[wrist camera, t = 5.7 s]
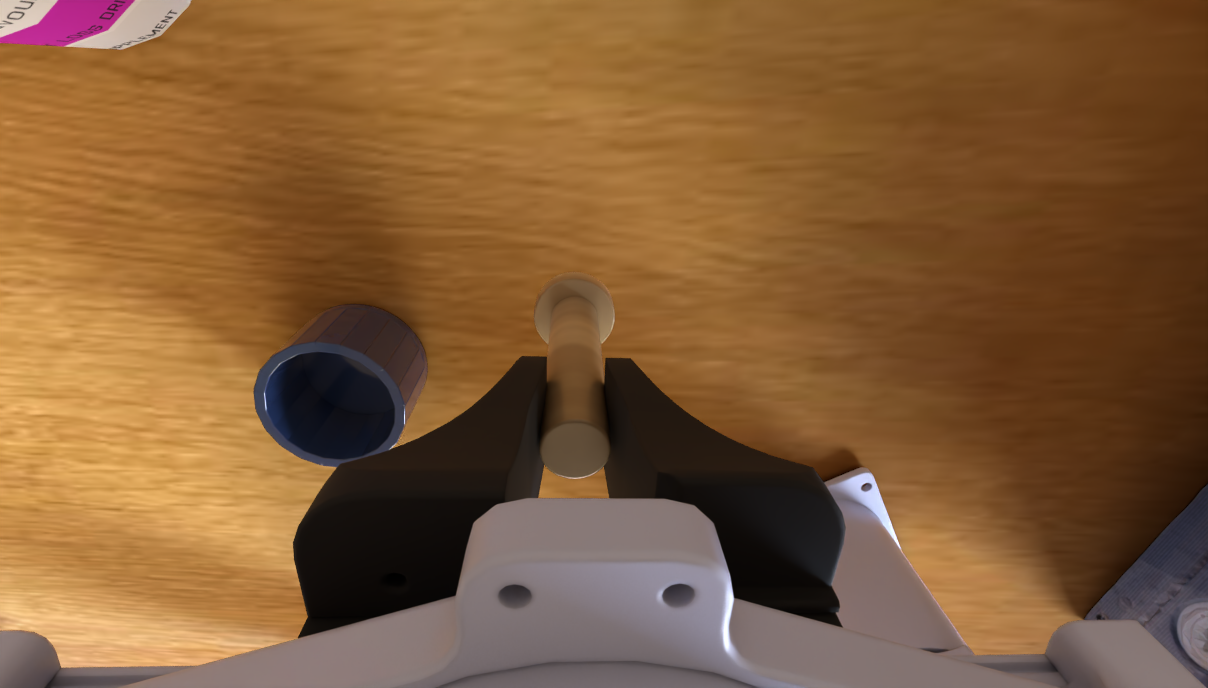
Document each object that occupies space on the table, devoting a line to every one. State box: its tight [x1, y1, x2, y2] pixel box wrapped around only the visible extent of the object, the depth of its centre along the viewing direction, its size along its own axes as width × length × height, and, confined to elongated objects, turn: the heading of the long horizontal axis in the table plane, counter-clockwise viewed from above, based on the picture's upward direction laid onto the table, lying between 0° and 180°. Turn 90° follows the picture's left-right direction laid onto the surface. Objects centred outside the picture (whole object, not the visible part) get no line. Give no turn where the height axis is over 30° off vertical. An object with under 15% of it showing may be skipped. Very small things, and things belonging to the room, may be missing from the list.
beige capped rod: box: [534, 272, 615, 479], centre depth 16 cm, size 3×3×8 cm
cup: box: [254, 304, 427, 467], centre depth 23 cm, size 5×5×4 cm
